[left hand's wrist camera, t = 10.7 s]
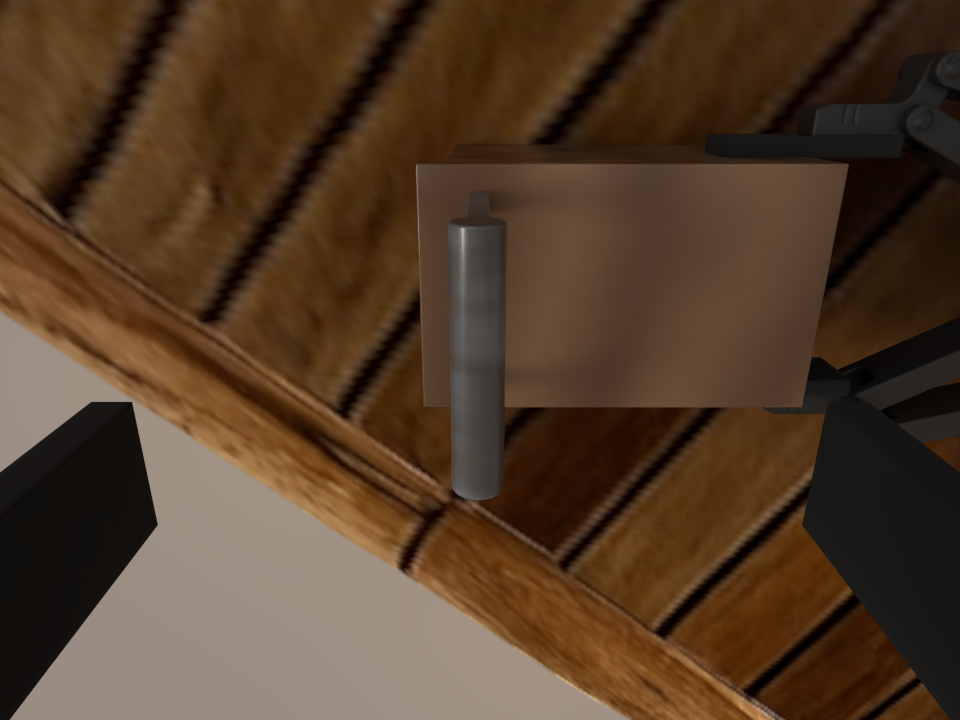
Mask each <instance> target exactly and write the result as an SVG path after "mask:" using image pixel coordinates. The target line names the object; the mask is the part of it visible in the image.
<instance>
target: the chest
mask: <svg viewBox="0 0 960 720" xmlns="http://www.w3.org/2000/svg"><path fill="white" fill-rule="evenodd" d="M705 146H706V145H456V147H455V148H454V150H453V152H452V154H451V156H450V157H449V159H448V161H447V162H833V161H829V160H823V159H817V158H811V157H723V156H719V155H714V154H710V153H705Z"/></svg>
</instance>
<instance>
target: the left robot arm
mask: <svg viewBox="0 0 960 720" xmlns="http://www.w3.org/2000/svg"><path fill="white" fill-rule="evenodd" d="M157 525H158V524H157V519H156V515H155V510H154V505H153V500H152V495H151V491H150V486H149V481H148V476H147V472H146V467H145V462H144V457H143V452H142V448H141V443H140V438H139V433H138V428H137V424H136V419H135V414H134V409H133V405H132V402H91V403H89V404H88V405H87V406H86V407H84V408H83V409H82V410H80V411H79V412H78V413H77V414H75V415H74V416H73V417H71V418H70V419H69V420H67V421H66V422H65V423H64V424H62V425H61V426H60V427H58V428H57V429H56V430H54V431H53V432H52V433H51V434H49V435H48V436H47V437H46V438H44V439H43V440H42V441H40V442H39V443H38V444H36V445H35V446H34V447H33V448H31V449H30V450H29V451H27V452H26V453H25V454H24V455H22V456H21V457H20V458H18V459H17V460H16V461H14V462H13V463H12V464H11V465H9V466H8V467H7V468H5V469H4V470H3V471H1V472H0V720H10V719H11V717H12V716H13V715H14V713H15V712H16V711H17V709H18V708H19V707H20V705H21V704H22V703H23V701H24V700H25V699H26V697H27V696H28V695H29V694H30V692H31V691H32V690H33V688H34V687H35V686H36V684H37V683H38V682H39V680H40V679H41V678H42V676H43V675H44V674H45V672H46V671H47V670H48V668H49V667H50V666H51V665H52V663H53V662H54V661H55V659H56V658H57V657H58V655H59V654H60V653H61V652H62V650H63V649H64V648H65V646H66V645H67V644H68V642H69V641H70V640H71V638H72V637H73V636H74V634H75V633H76V632H77V631H78V629H79V628H80V627H81V625H82V624H83V623H84V621H85V620H86V619H87V617H88V616H89V615H90V613H91V612H92V611H93V609H94V608H95V607H96V605H97V604H98V603H99V602H100V600H101V599H102V598H103V596H104V595H105V594H106V592H107V591H108V590H109V588H110V587H111V586H112V584H113V583H114V582H115V581H116V579H117V578H118V577H119V575H120V574H121V573H122V571H123V570H124V569H125V567H126V566H127V565H128V563H129V562H130V561H131V560H132V558H133V557H134V556H135V554H136V553H137V552H138V550H139V549H140V548H141V546H142V545H143V544H144V542H145V541H146V540H147V539H148V537H149V536H150V535H151V533H152V532H153V531H154V529H155V528H156V527H157ZM802 525H803V527H804V528H805V529H806V531H807V532H808V533H809V535H810V536H811V537H812V539H813V540H814V541H815V542H816V544H817V545H818V546H819V548H820V549H821V550H822V552H823V553H824V554H825V556H826V557H827V558H828V560H829V561H830V562H831V563H832V565H833V566H834V567H835V569H836V570H837V571H838V573H839V574H840V575H841V577H842V578H843V579H844V581H845V582H846V583H847V585H848V586H849V587H850V588H851V590H852V591H853V592H854V594H855V595H856V596H857V598H858V599H859V600H860V602H861V603H862V604H863V606H864V607H865V608H866V609H867V611H868V612H869V613H870V615H871V616H872V617H873V619H874V620H875V621H876V623H877V624H878V625H879V627H880V628H881V629H882V631H883V632H884V633H885V634H886V636H887V637H888V638H889V640H890V641H891V642H892V644H893V645H894V646H895V648H896V649H897V650H898V652H899V653H900V654H901V655H902V657H903V658H904V659H905V661H906V662H907V663H908V665H909V666H910V667H911V669H912V670H913V671H914V673H915V674H916V675H917V676H918V678H919V679H920V680H921V682H922V683H923V684H924V686H925V687H926V688H927V690H928V691H929V692H930V694H931V695H932V696H933V698H934V699H935V700H936V701H937V703H938V704H939V705H940V707H941V708H942V709H943V711H944V712H945V713H946V715H947V716H948V717H949V719H950V720H960V472H959V471H957V470H956V469H955V468H953V467H952V466H951V465H949V464H948V463H947V462H946V461H944V460H943V459H942V458H940V457H939V456H938V455H937V454H935V453H934V452H933V451H931V450H930V449H929V448H927V447H926V446H925V445H924V444H922V443H921V442H920V441H918V440H917V439H916V438H915V437H913V436H912V435H911V434H909V433H908V432H907V431H906V430H904V429H903V428H902V427H900V426H899V425H898V424H896V423H895V422H894V421H893V420H891V419H890V418H889V417H887V416H886V415H885V414H884V413H882V412H881V411H880V410H878V409H877V408H876V407H874V406H873V405H872V404H871V403H869V402H828V405H827V409H826V414H825V419H824V424H823V428H822V433H821V438H820V443H819V448H818V452H817V457H816V462H815V467H814V471H813V476H812V481H811V486H810V491H809V495H808V500H807V505H806V510H805V514H804V519H803V524H802Z"/></svg>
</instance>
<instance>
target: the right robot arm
mask: <svg viewBox="0 0 960 720" xmlns="http://www.w3.org/2000/svg"><path fill="white" fill-rule="evenodd" d="M898 77H899V83H898V85H897V87H896V88H895V90H894V92H893V93H892V94H891V95H890V96H889V97H888V98H887V99H886V100H884V101H882V102H880V103H875V104H812V105H810V106H807V107H805V108H802V109H801V110H800V116H799V122H798V128H797V134H707V137H706V146H705V153H710V154H714V155H719V156H723V157H811V158H900V155H901V151H902V149H903V150H905V151H906V152H908V153H909V154H911V155H913V156H914V157H916V158H918V159H919V160H921V161H923V162H924V163H926V164H927V165H929V166H931V167H932V168H934V169H936V170H937V171H939V172H941V173H942V174H944V175H945V176H947V177H949V178H950V179H952V180H954V181H955V182H957V183H959V184H960V122H959V121H957V120H956V119H954V118H953V117H951V116H949V115H948V114H946V113H945V112H943V111H942V110H940V107H941V106H942V104H943V102H944V100H945V99H946V98H947V99H951V100H954V101H958V102H960V51H948V52H938V53H929V54H920V55H914V56H911V57H909V58H907V59H906V60H905V61H904V62H903V63H902V65H901V66H900V69H899V73H898ZM958 377H960V317H958V318H956V319H954V320H951V321H949V322H947V323H944V324H942V325H940V326H938V327H935V328H933V329H931V330H928V331H926V332H924V333H921V334H919V335H917V336H914V337H912V338H910V339H908V340H905V341H903V342H901V343H898V344H896V345H894V346H891V347H889V348H887V349H884V350H882V351H880V352H878V353H875V354H873V355H871V356H868V357H866V358H864V359H861V360H859V361H857V362H854V363H852V364H850V365H848V366H845V367H843V368H841V369H838V370H837V369H835V368H834V367H833V366H831V365H830V364H829V363H827V362H826V361H825V360H823V359H822V358H811V363H810V368H809V374H808V379H807V384H806V389H805V394H804V399H803V404H802V407H763V408H764V409H765V410H767V411H770V412H772V413H775V414H788V413H789V414H797V413H798V414H826V409H827V405H828V402H869V403H871V404H872V405H873V406H874V407H876V408H877V409H878V410H880V411H881V412H882V413H884V414H885V415H886V416H887V417H889V418H890V419H891V420H893V421H894V422H895V423H896V424H898V425H899V426H900V427H902V428H903V429H904V430H906V431H907V432H908V433H909V434H911V435H912V436H913V437H915V438H916V439H917V440H918V441H920V442H921V443H924V442H929V441H934V440H939V439H944V438H949V437H954V436H959V435H960V382H959V383H954V384H949V385H944V386H940V387H936V386H939V385H941V384H944V383H946V382H948V381H951V380H953V379H956V378H958ZM934 387H935V388H934Z"/></svg>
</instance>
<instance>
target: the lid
mask: <svg viewBox="0 0 960 720" xmlns="http://www.w3.org/2000/svg"><path fill="white" fill-rule="evenodd" d="M848 168H849V164H847V163H841V162H418V163H417V164H416V194H417V224H418V253H419V283H420V312H421V341H422V371H423V400H424V407H451V456H452V487H453V490H454V491H455V493H456V494H458V495H459V496H461V497H463V498H466V499H471V500H485V499H489V498H492V497H494V496H496V495H498V494H499V493H500V492H501V490H502V489H503V485H504V419H505V407H802V404H803V399H804V394H805V389H806V384H807V379H808V374H809V368H810V363H811V358H812V353H813V348H814V343H815V338H816V332H817V327H818V322H819V317H820V312H821V307H822V302H823V296H824V291H825V286H826V281H827V276H828V271H829V265H830V260H831V255H832V250H833V245H834V240H835V235H836V229H837V224H838V219H839V214H840V209H841V204H842V199H843V193H844V188H845V183H846V178H847V173H848Z"/></svg>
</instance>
